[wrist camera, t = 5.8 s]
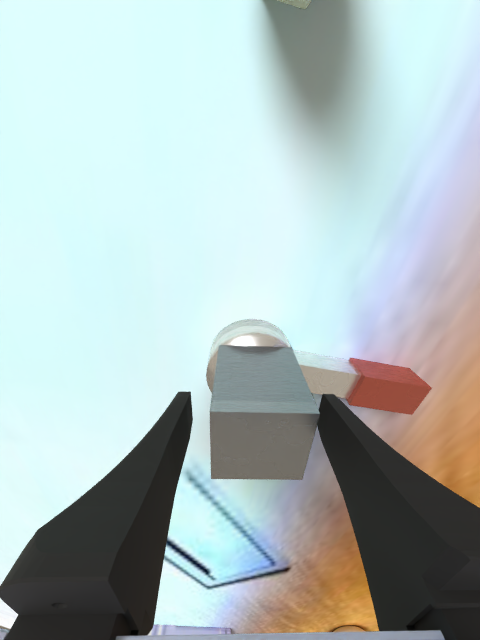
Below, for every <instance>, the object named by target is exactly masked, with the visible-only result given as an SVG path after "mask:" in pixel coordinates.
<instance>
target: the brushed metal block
mask: <svg viewBox="0 0 480 640" xmlns="http://www.w3.org/2000/svg"><path fill="white" fill-rule="evenodd" d="M319 416H320V412H319V410H318V408H317V405H316V403H315V401H314V398H313V396H312V394H311V391H310V389H309V387H308V384H307V382H306V380H305V377H304V375H303V373H302V370H301V368H300V366H299V363H298V361H297V359H296V356H295V354H294V352H293V349H292V347H271V346H236V345H219V347H218V355H217V362H216V370H215V377H214V385H213V392H212V399H211V407H210V444H211V479H293V480H302V479H303V475H304V471H305V467H306V464H307V460H308V456H309V453H310V449H311V445H312V442H313V438H314V434H315V430H316V427H317V423H318V419H319Z"/></svg>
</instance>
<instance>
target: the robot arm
mask: <svg viewBox="0 0 480 640" xmlns="http://www.w3.org/2000/svg"><path fill="white" fill-rule="evenodd" d="M319 412H320V416H319V419H318V423H317V426H318V430H319V434H320V437H321V441H322V443H323V446H324V448H325V451H326V453H327V456H328V458H329V461H330V463H331V466H332V468H333V471H334V473H335V475H336V478H337V480H338V483H339V485H340V488H341V491H342V494H343V496H344V500H345V503H346V506H347V509H348V512H349V516H350V519H351V522H352V526H353V529H354V533H355V536H356V540H357V543H358V547H359V550H360V554H361V558H362V562H363V565H364V569H365V573H366V577H367V581H368V585H369V589H370V593H371V597H372V601H373V605H374V610H375V614H376V618H377V623H378V627H379V631H373V632H316V633H259V634H203V635H148V634H149V633H150V631H151V630H152V628H153V624H154V618H155V611H156V604H157V598H158V591H159V585H160V578H161V572H162V566H163V560H164V554H165V547H166V542H167V536H168V530H169V524H170V519H171V513H172V508H173V502H174V497H175V492H176V488H177V484H178V480H179V476H180V473H181V469H182V465H183V462H184V458H185V454H186V450H187V447H188V443H189V439H190V433H191V427H192V420H193V418H192V405H191V392H178V393H177V394H176V396H175V398H174V399H173V401H172V402H171V403H170V405H169V406H168V408H167V409H166V410H165V412H164V413H163V414H162V416H161V417H160V418H159V420H158V421H157V422H156V424H155V425H154V426H153V427H152V428H151V430H150V431H149V432H148V433H147V434H146V435H145V437H144V438H143V439H142V440H141V441H140V442H139V443H138V445H137V446H136V447H135V448H134V449H133V450H132V451H131V452H130V453H129V454H128V455H127V456H126V457H125V458H124V459H123V460H122V461H121V462H120V463H119V464H118V465H117V466H116V467H115V468H114V469H113V470H112V471H111V472H109V473H108V474H107V475H106V476H105V477H104V478H103V479H102V480H101V481H99V482H98V483H97V484H96V485H95V486H93V487H92V488H91V489H90V490H89V491H87V492H86V493H85V494H84V495H83V496H81V497H80V498H79V499H78V500H77V501H75V502H74V503H73V504H72V505H70V506H69V507H68V508H66V509H65V510H64V511H62V512H61V513H60V514H58V515H57V516H56V517H54V518H53V519H52V520H50V521H49V522H48V523H46V524H45V525H44V526H42V527H41V528H40V529H38V530H37V532H36V533H35V535H34V536H33V537H32V539H31V540H30V541H29V543H28V544H27V545H26V547H25V548H24V550H23V551H22V553H21V554H20V556H19V558H18V559H17V561H16V562H15V564H14V565H13V567H12V569H11V570H10V572H9V573H8V575H7V576H6V578H5V580H4V581H3V583H2V584H1V586H0V598H1V599H2V600H3V601H4V602H5V603H6V604H7V605H8V606H9V607H11V608H12V609H13V610H14V611H15V612H16V613H17V614H18V617H17V618H16V620H15V622H14V624H13V626H12V628H11V629H10V631H9V630H7V629H2V628H0V640H480V508H479V507H477V506H475V505H474V504H472V503H470V502H469V501H467V500H466V499H464V498H462V497H461V496H459V495H458V494H456V493H454V492H453V491H451V490H450V489H448V488H447V487H445V486H444V485H442V484H441V483H439V482H438V481H436V480H435V479H433V478H432V477H430V476H429V475H427V474H426V473H425V472H423V471H422V470H420V469H419V468H417V467H416V466H415V465H413V464H412V463H411V462H409V461H408V460H407V459H405V458H404V457H403V456H402V455H400V454H399V453H398V452H396V451H395V450H394V449H393V448H391V447H390V446H389V445H388V444H387V443H386V442H384V441H383V440H382V439H381V438H380V437H379V436H377V435H376V434H375V433H374V432H373V431H372V430H371V429H370V428H368V427H367V426H366V425H365V424H364V423H363V422H362V421H361V420H360V419H359V418H358V417H357V416H356V415H355V414H354V413H353V412H352V411H351V410H350V409H349V408H348V407H347V406H346V405H345V404H344V403H343V402H342V401H341V400H340V399H339V398H337V397H336V396H335V395H334V394H323V395H322V399H321V403H320V407H319Z"/></svg>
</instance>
